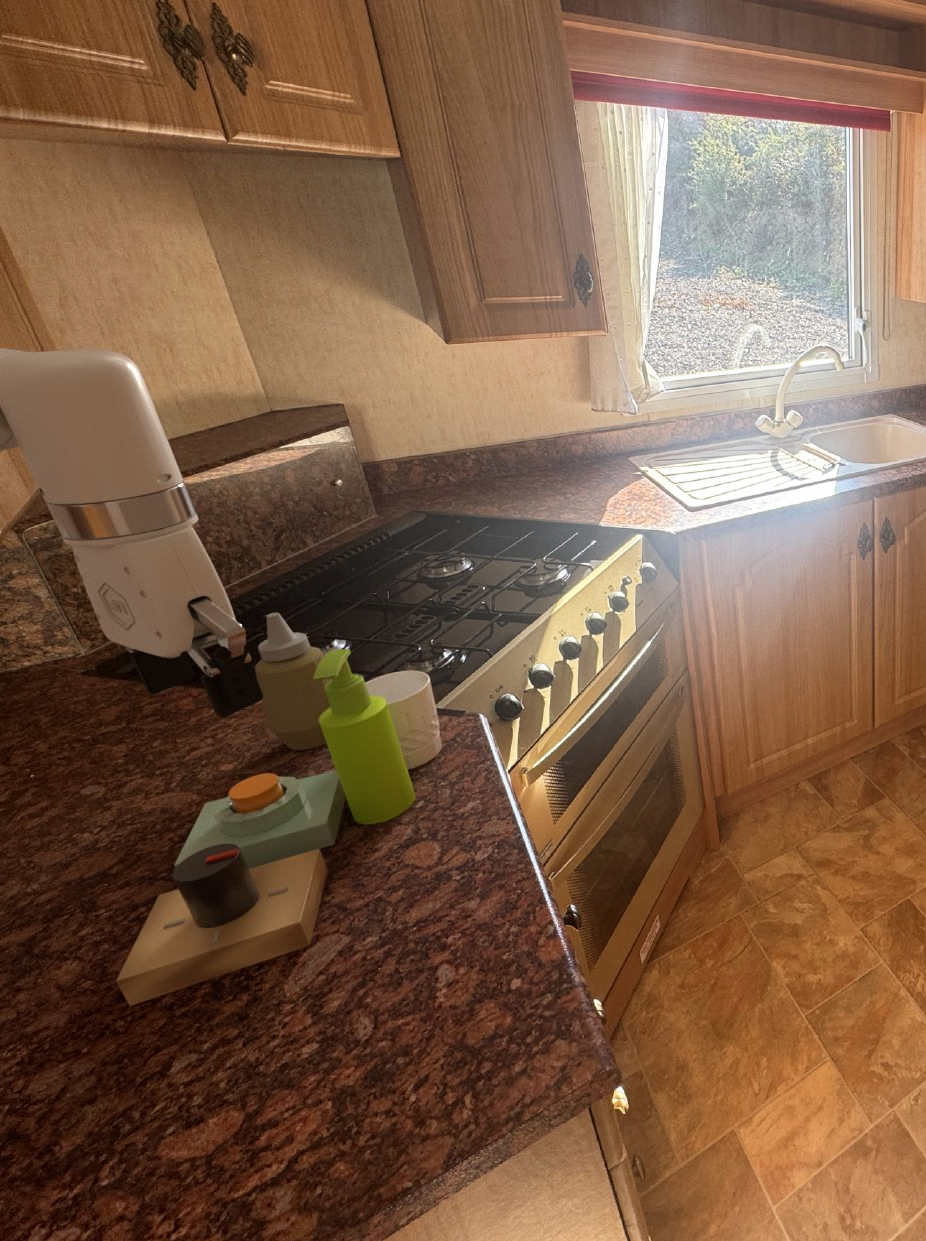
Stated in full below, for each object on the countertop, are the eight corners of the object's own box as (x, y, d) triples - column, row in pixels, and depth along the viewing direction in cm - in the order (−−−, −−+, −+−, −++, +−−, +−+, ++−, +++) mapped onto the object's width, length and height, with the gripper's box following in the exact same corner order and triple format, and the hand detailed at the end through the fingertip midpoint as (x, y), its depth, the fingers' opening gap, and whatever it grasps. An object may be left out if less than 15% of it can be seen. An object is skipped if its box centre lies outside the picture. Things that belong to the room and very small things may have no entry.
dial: (187, 935, 63) (162, 886, 61) (203, 899, 67) (180, 851, 65) (252, 915, 65) (230, 866, 63) (264, 881, 69) (244, 834, 67)
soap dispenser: (344, 837, 78) (286, 679, 71) (360, 796, 84) (308, 646, 77) (408, 822, 80) (358, 667, 73) (419, 783, 86) (374, 636, 79)
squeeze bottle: (364, 714, 99) (326, 596, 92) (341, 750, 92) (298, 625, 85) (293, 725, 96) (248, 604, 90) (264, 762, 89) (213, 634, 83)
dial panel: (129, 1006, 60) (114, 980, 59) (170, 918, 68) (158, 893, 67) (309, 945, 66) (299, 920, 65) (328, 870, 74) (319, 846, 73)
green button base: (184, 888, 72) (165, 849, 70) (214, 824, 80) (198, 787, 78) (334, 844, 77) (320, 807, 75) (348, 789, 85) (336, 754, 83)
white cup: (431, 772, 88) (411, 703, 84) (360, 778, 87) (336, 708, 83) (458, 733, 95) (440, 668, 92) (393, 738, 94) (372, 672, 90)
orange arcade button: (230, 819, 74) (223, 803, 73) (240, 795, 77) (234, 780, 77) (279, 806, 76) (273, 790, 75) (287, 783, 79) (282, 768, 78)
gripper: (0, 514, 56) (92, 699, 63) (129, 543, 51) (216, 743, 57) (125, 488, 63) (197, 658, 69) (251, 511, 57) (317, 694, 64)
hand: (206, 696), depth 63 cm, fingers open, 9 cm apart
